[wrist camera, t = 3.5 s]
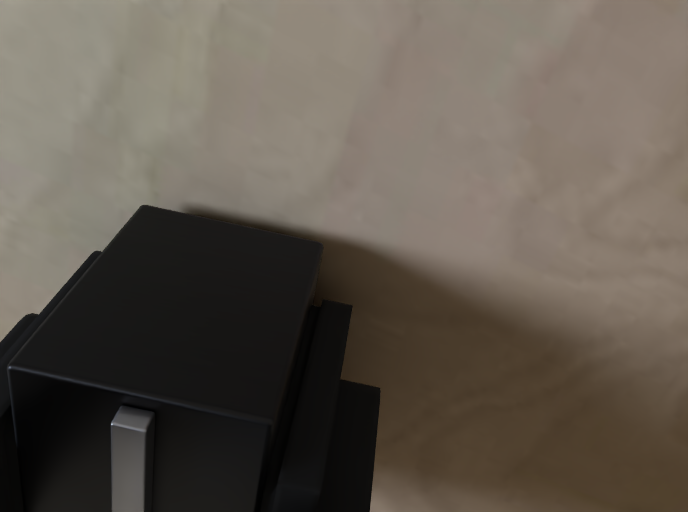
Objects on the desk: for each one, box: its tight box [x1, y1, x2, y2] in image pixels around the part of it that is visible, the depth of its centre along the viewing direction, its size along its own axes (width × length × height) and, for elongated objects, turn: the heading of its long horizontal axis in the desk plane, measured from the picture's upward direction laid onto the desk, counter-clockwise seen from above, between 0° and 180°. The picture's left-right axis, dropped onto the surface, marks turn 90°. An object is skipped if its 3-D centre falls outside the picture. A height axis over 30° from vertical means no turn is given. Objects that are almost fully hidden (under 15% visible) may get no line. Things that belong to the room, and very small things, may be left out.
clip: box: [7, 205, 323, 512], centre depth 10 cm, size 5×3×4 cm, turn 170°
